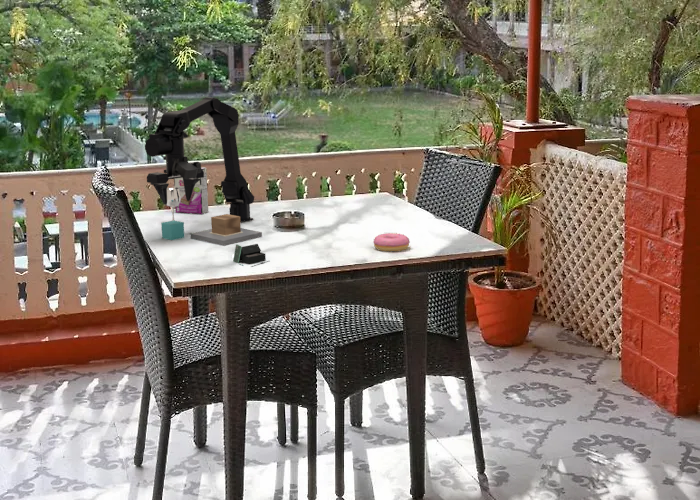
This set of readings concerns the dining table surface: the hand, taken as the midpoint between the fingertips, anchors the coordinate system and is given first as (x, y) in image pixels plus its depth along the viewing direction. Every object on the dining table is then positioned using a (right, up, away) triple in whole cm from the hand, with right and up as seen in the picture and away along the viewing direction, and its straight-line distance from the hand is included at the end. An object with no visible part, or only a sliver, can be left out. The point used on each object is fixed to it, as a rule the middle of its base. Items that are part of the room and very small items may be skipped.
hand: (176, 202), depth 301 cm
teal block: (-2, -11, +3) cm, 12 cm away
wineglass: (-6, -6, +25) cm, 26 cm away
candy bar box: (-2, -2, +43) cm, 43 cm away
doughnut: (+67, -15, -14) cm, 70 cm away
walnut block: (+15, -9, +2) cm, 18 cm away
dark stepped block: (+26, -19, -27) cm, 42 cm away
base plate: (+15, -11, +3) cm, 19 cm away
